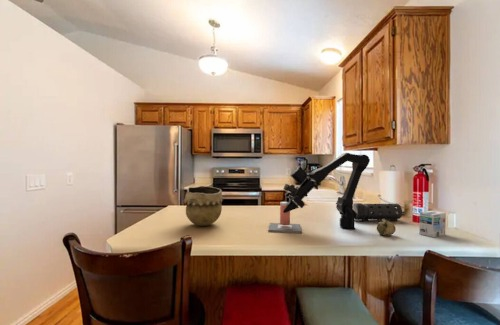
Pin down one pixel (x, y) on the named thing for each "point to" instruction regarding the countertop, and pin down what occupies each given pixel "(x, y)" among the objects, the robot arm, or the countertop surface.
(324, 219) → the countertop surface
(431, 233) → the light bulb box
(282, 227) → the mat
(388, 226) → the onion
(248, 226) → the countertop surface
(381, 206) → the muzzle brake
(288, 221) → the salt shaker
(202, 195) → the clay pot
